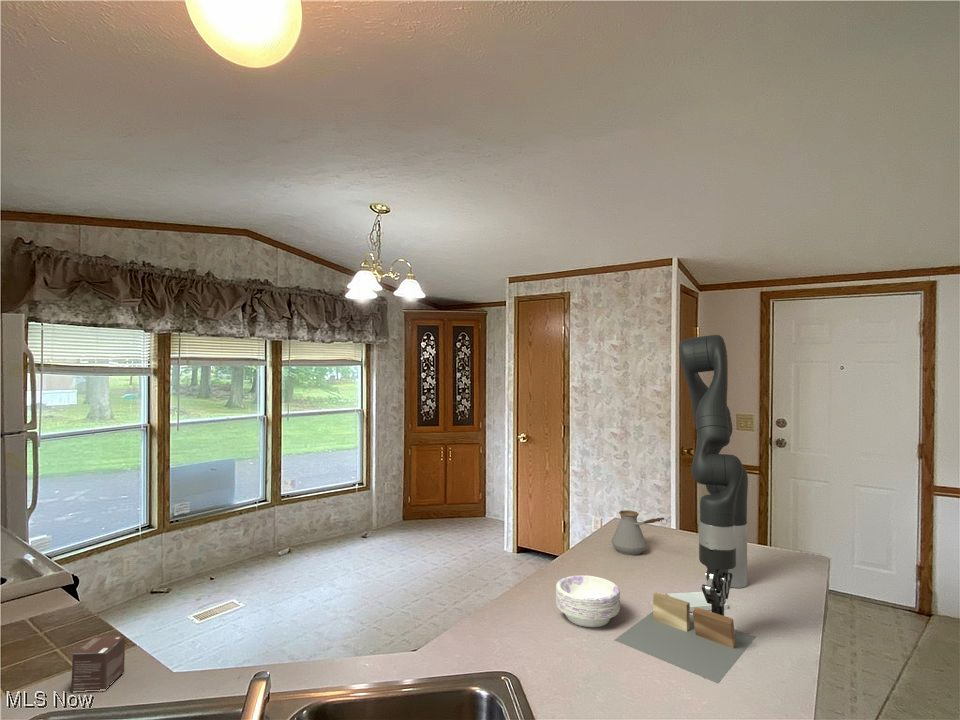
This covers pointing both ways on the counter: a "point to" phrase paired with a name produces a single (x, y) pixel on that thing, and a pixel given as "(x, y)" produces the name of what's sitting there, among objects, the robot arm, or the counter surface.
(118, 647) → the box
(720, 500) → the robot arm
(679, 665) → the rubber mat
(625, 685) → the counter surface
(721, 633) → the walnut slab
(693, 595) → the hard drive
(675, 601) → the pale oak slab
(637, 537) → the coffee pot
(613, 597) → the paper bowls
